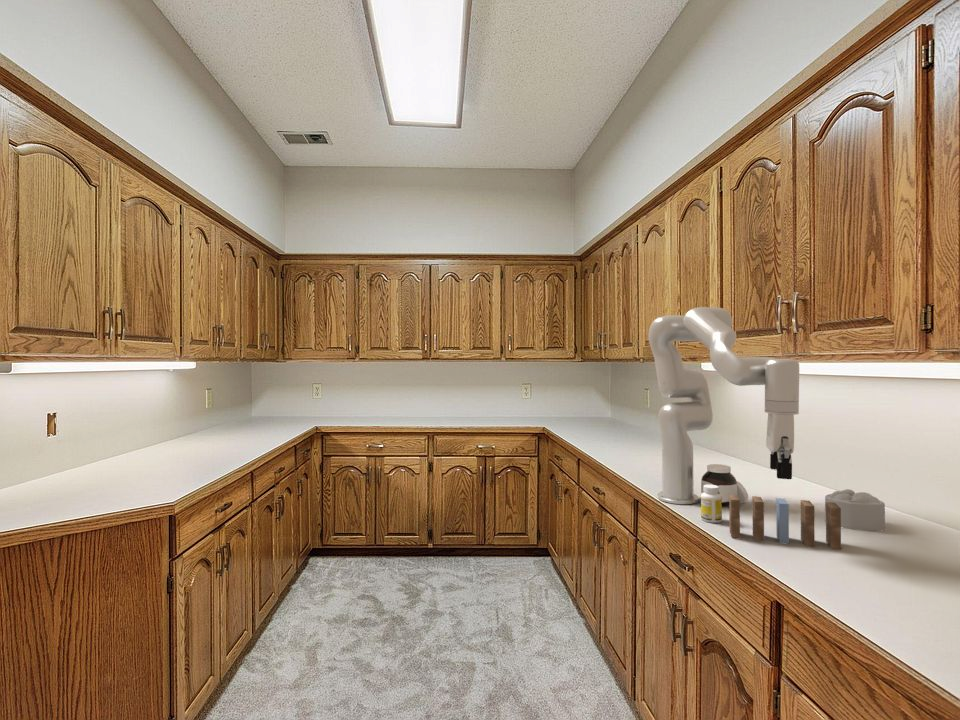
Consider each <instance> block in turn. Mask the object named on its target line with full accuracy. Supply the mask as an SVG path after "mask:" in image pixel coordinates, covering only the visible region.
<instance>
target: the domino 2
mask: <svg viewBox="0 0 960 720" xmlns="http://www.w3.org/2000/svg"><path fill="white" fill-rule="evenodd" d="M751 500H752V504H751V505H752V509H751V510H752V536H753V538H755V539H754V541H755V540H759V541H758V542H765V502H764V500H763V498H762V496H752V499H751Z"/></svg>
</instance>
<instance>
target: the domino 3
mask: <svg viewBox="0 0 960 720" xmlns="http://www.w3.org/2000/svg"><path fill="white" fill-rule="evenodd" d="M815 537H816V536H815V505H814V504H813V503H812V502H811V501H810V500H806V499H800V540H801V542H802V544H804V546H806V547H813V548H814V547H815V546H816V545H815V539H816V538H815Z"/></svg>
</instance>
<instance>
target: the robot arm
mask: <svg viewBox="0 0 960 720" xmlns="http://www.w3.org/2000/svg"><path fill="white" fill-rule="evenodd" d="M732 327H733V318H732V315H731V313H730V312H729V311H728V310H727V309H725V308H722V307H713V306H711V307H709V306H708V307H707V306H705V307H704V306H701V307H699V306H698V307H694V308H691V309H689V310H688V311H687V312H686V313H685V315H675V314H674V315H672V314H671V315H663V316H658V317H657V318H655V319H654V320H653V321H652V323H651V325H649V330H648V343H649V346H650V350H651V352H652V356H653V359H654V360H653V361H654V365H655V366H654V367H655V372H656V379H657V385H658V390H659V393H660V394H661V396H662V397H663V398H665V399H686V401H678V402H677V401H676V402H669V403H666V404H665V405H663V406H661V408H660V409H659V411H658V414H657V415H658V417H657V418H658V424H659V428H660V434H661V471H662V473H661V475H662V476H661V478H662V481H661V483H662V487H661V488H662V491H659V492H658V493H657V498H658V500H660V501H662V502H665V503H669V504H674V505H692V504H697V503H699V501H700V497H699V495H697V494H695V493H694V491H695V490H694V446H693V442H692V439H691V437H690V436H689V433H688V432H695V431H703V430H707V429H708V428H709V427H710V426H711V425H712V422H713V409H712V408H713V406H712V402H711V395H710V389H709V385H708V380H707V378H706V376H705V375H704V374H703V373H702V372H701V371H700V370H698V369H694V368H693V369H692V368H691V369H689V368H688V369H685V368H684V365H683V359H682V355H681V353H680V351H679V350H678V348H677V347H676V345H674V344H673V342H698V341H699V342H700V343H701V344H702V345H703V346H705V348H706V349H708V350H709V358H710V362H711V366H712V367H713V369H714V370H715V371H716V372H717V373H718V374H719V375H720V376H722V378H724V379H725V380H726V381H727V382H728V383H730V384H732V385H734V386H739V387H740V386H741V387H743V386H764V412H765V413H766V414H767V421H766V425H767V426H766V440H765V442H766V443H765V446H766V448H767V449H768V450H769V451H770V456H769V460H770V461H769V463H770V464H769V465H770V466H769V469H771V470H776V478H777V479H780V480H781V479H782V480H792V479H793V460H792V454H794V450H795V417H794V416H795V415H799V413H800V412H799V409H800V405H799V404H800V403H799V402H800V363H799V361H798V360H797V359H795V358H775V357H774V358H773V357H770V356H769V357H768V356H743V357H740V356H739V355H737V354H736V353H735V352H733V351H732V350H731V349H732V348H733V346H735V344H736V342H737V333H736V331H735V330H734V329H733V328H732Z"/></svg>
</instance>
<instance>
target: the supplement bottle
mask: <svg viewBox="0 0 960 720" xmlns="http://www.w3.org/2000/svg"><path fill="white" fill-rule="evenodd" d="M703 490H704V493H702V494H701V495H700V511H701V512H700V516H701V520H702V521H704V522H706V523H712V524H718V523H721V522H722V521H723V513H722V512H723V509H722V507H723V506H722V498H721V495H720V494H718V492H719V487H718V486H716V485H704V486H703Z"/></svg>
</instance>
